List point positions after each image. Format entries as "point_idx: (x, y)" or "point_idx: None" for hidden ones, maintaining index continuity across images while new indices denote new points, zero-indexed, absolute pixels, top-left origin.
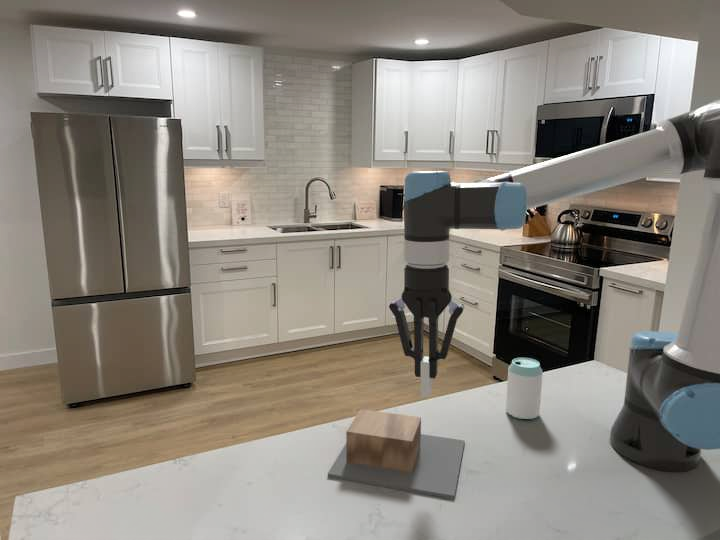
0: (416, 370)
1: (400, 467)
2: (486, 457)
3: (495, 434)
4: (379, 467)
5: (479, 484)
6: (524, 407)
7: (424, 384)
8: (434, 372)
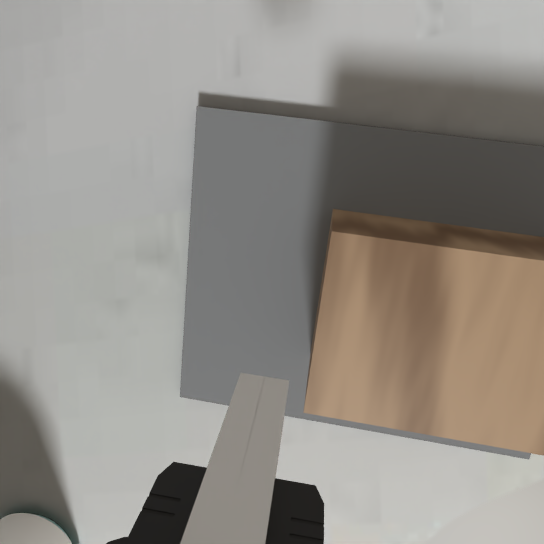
0: (308, 525)
1: (370, 216)
2: (120, 328)
3: (102, 441)
4: (440, 220)
5: (133, 194)
6: (6, 541)
7: (254, 423)
8: (162, 498)
